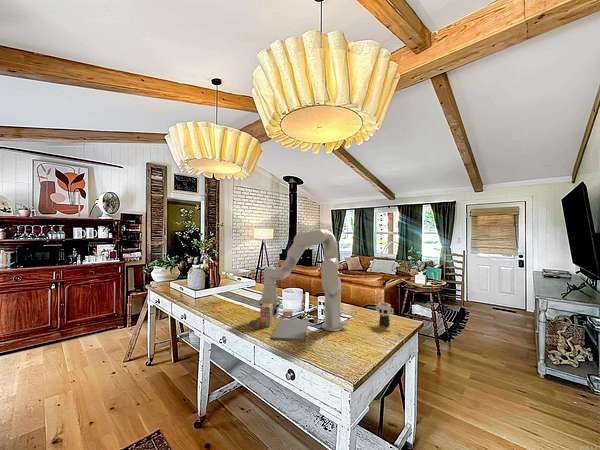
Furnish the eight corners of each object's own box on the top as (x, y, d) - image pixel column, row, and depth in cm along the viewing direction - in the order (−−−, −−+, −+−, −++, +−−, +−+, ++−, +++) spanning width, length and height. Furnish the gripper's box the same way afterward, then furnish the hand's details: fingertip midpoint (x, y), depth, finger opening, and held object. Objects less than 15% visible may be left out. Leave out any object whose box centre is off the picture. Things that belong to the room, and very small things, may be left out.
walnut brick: (260, 327, 159) (261, 320, 159) (258, 329, 155) (258, 322, 155) (251, 326, 160) (251, 319, 160) (249, 328, 156) (249, 322, 156)
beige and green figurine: (373, 324, 163) (373, 303, 163) (377, 321, 169) (377, 301, 169) (391, 329, 157) (391, 307, 157) (395, 325, 162) (395, 304, 163)
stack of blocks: (269, 314, 181) (269, 296, 181) (278, 315, 180) (278, 297, 180) (259, 326, 159) (260, 306, 159) (269, 327, 158) (270, 306, 158)
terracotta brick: (291, 315, 180) (291, 309, 180) (292, 317, 176) (292, 311, 176) (282, 315, 179) (282, 309, 179) (283, 317, 175) (283, 311, 175)
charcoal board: (308, 322, 167) (308, 320, 167) (304, 341, 139) (304, 338, 139) (280, 320, 169) (280, 318, 169) (271, 339, 141) (271, 337, 141)
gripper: (284, 285, 172) (283, 313, 172) (258, 284, 174) (258, 311, 174) (282, 288, 164) (281, 316, 164) (255, 287, 166) (254, 315, 166)
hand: (269, 314), depth 169 cm, fingers closed on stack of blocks, 6 cm apart
